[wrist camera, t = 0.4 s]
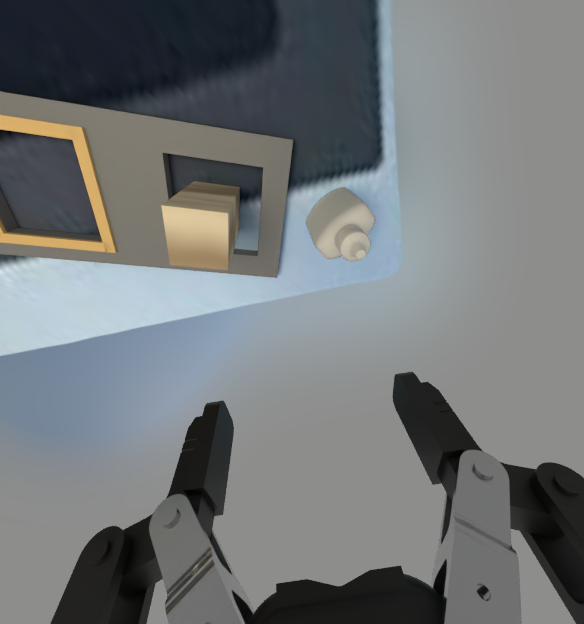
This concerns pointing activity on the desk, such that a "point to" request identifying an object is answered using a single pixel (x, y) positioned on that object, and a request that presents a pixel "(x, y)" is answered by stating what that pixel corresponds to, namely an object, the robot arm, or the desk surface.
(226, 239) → the plug
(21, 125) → the dock
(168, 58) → the desk surface
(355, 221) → the eye dropper bottle
